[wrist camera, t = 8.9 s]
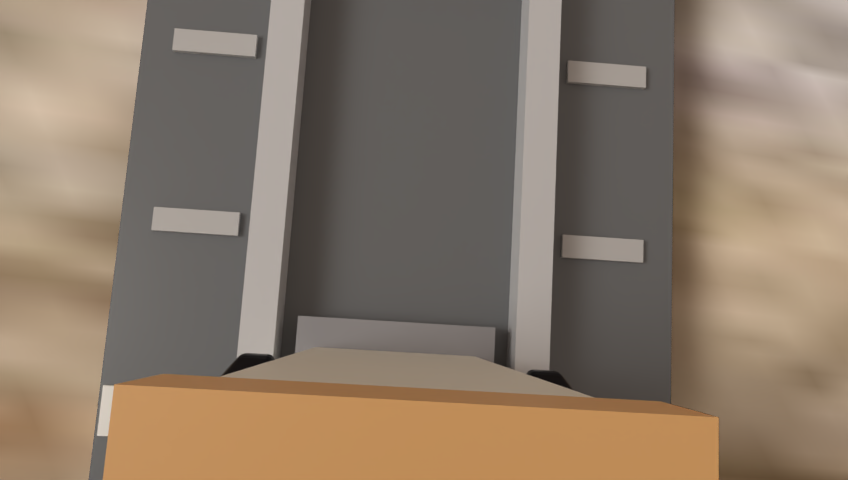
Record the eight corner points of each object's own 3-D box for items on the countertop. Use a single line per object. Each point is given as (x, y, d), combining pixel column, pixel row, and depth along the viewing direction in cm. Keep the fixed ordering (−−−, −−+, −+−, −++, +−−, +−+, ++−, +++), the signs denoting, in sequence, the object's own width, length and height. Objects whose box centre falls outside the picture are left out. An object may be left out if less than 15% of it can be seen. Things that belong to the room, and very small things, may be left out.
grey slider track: (641, 863, 14) (711, 1007, 11) (67, 852, 13) (-23, 1003, 10) (655, -157, 17) (712, -258, 14) (192, -203, 17) (150, -319, 14)
